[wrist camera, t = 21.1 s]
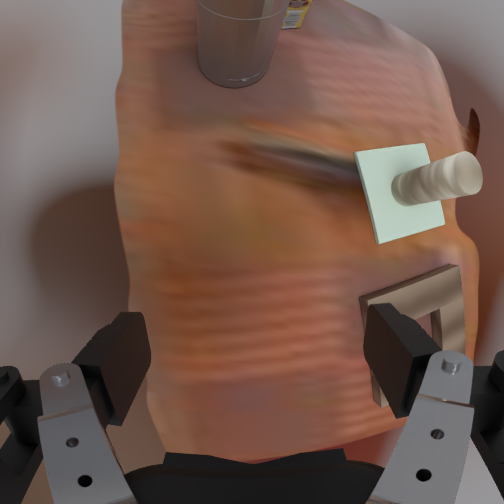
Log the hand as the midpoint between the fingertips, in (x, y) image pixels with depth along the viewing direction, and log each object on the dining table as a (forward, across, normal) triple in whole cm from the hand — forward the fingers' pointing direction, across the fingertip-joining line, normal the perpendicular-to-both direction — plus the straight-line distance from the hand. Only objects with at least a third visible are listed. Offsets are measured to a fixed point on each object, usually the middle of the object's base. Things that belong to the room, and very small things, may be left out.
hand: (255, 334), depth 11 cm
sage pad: (+30, -20, -3) cm, 37 cm away
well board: (+26, -22, +17) cm, 38 cm away
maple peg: (+30, -20, -3) cm, 36 cm away
